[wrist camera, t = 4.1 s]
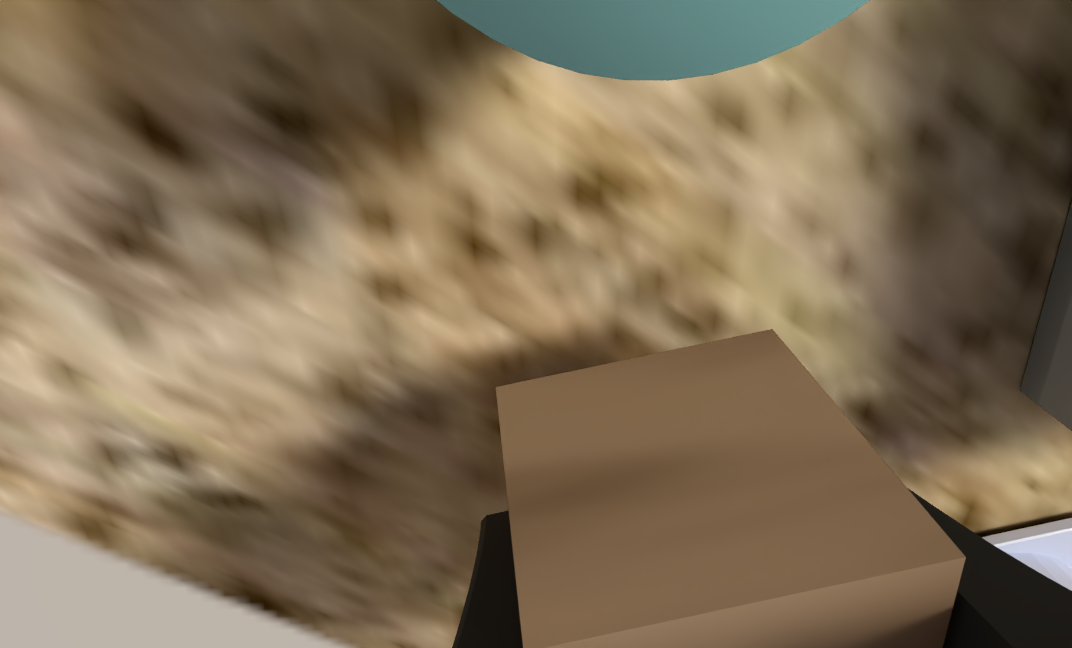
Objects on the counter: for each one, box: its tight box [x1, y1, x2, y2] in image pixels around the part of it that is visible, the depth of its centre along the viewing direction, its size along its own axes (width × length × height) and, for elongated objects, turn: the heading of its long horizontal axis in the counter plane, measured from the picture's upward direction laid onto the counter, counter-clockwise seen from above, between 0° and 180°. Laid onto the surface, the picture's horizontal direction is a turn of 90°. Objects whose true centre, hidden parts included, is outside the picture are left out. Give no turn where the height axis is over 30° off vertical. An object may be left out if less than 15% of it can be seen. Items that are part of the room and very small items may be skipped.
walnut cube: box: [496, 329, 966, 648], centre depth 11 cm, size 5×5×5 cm
